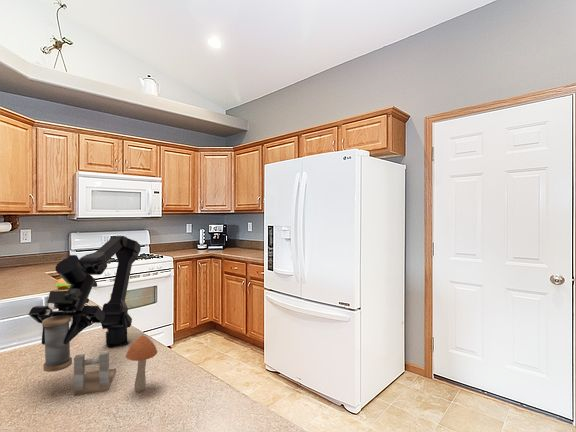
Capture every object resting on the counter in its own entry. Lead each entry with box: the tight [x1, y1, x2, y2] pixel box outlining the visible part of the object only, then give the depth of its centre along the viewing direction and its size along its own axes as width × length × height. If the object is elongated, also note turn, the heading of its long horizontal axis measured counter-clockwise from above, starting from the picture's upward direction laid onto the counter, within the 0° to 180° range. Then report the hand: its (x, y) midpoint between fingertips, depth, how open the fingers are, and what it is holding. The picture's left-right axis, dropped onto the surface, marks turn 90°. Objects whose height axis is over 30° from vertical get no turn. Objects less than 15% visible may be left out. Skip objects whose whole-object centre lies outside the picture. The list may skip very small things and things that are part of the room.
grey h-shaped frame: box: [73, 350, 117, 397], centre depth 94 cm, size 11×8×10 cm
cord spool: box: [41, 315, 73, 373], centre depth 90 cm, size 6×6×13 cm
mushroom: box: [125, 334, 158, 393], centre depth 90 cm, size 8×8×15 cm
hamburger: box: [55, 277, 71, 291], centre depth 203 cm, size 12×12×9 cm
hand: (53, 344), depth 88 cm, fingers closed on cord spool, 5 cm apart
